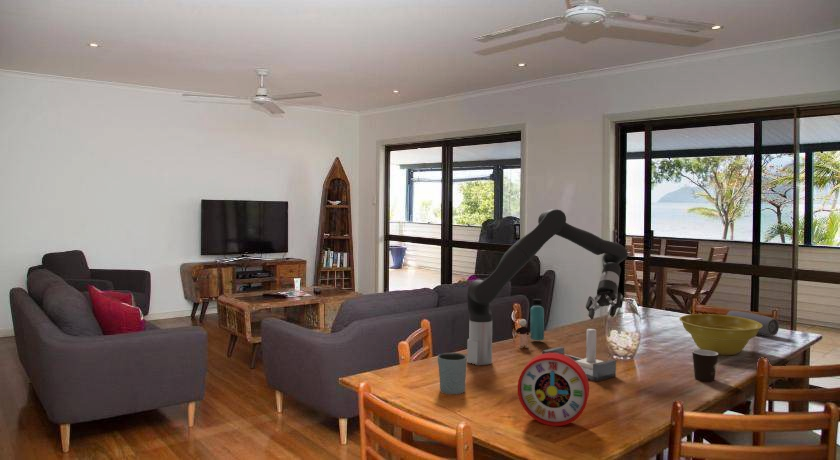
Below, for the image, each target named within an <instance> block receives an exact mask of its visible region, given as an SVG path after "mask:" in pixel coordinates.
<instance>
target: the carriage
mask: <svg viewBox="0 0 840 460" xmlns="http://www.w3.org/2000/svg"><path fill="white" fill-rule="evenodd" d="M585 349H586V350H585V351H586V352H585V353H586V354H585V355H586V356H585V357H584V358H582V359H581V360H577V361H576V362H577V363H578V364H579V365H580V366H581V367H584V368H588V369H591V370H593V364H596V363H599V362H603V361H604V360H601V359H597V329H595V328H587V329H586V347H585Z"/></svg>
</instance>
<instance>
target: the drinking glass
mask: <svg viewBox="0 0 840 460" xmlns="http://www.w3.org/2000/svg"><path fill="white" fill-rule="evenodd" d="M437 364H438V374H439V375H438V376H439V390H440V393H442V392H443V393H442V394H445V393H446V394H445V395H451V394H456V395H461V393H462V394H464V393H466V378H467V377H466V376H467V375H466V373H467V364H468V362H467V355H466V354H464V353H460V352H444V353H440V354H438V355H437ZM463 392H464V393H463Z"/></svg>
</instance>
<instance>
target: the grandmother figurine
mask: <svg viewBox="0 0 840 460" xmlns="http://www.w3.org/2000/svg"><path fill="white" fill-rule="evenodd" d="M518 324H519V326H520V327H517V328H516V329H515V332H514V336H515V337H516V336H517V335H518V349H519V348H520V349H523V348H525V349H528V348H529V344H528V343H529V342H528V336H529V337H530V336H531V333H530V328H528V327H526V325H527V320H526V319H524V318H521V319H519V322H518Z"/></svg>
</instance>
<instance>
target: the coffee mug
mask: <svg viewBox="0 0 840 460" xmlns="http://www.w3.org/2000/svg"><path fill="white" fill-rule="evenodd" d="M691 353H692V354H691V355H692V361H693V373H694V380H695V381H698V382H702V383H703V382H704V383H714V382H715V378H716V377H715V376H716V371H717V366H718V365H717V364H718V358H719V355H718V353H717V352H714V351H709V350H701V349H694V350H692V352H691ZM713 381H714V382H713Z"/></svg>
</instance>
